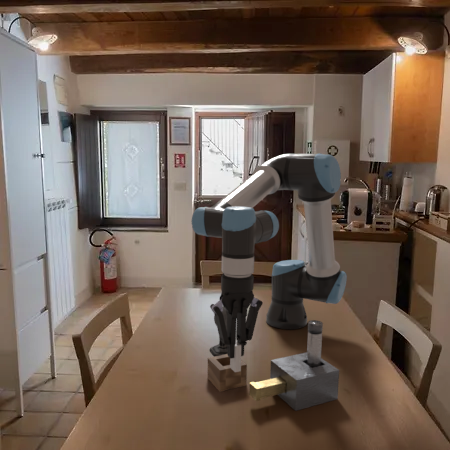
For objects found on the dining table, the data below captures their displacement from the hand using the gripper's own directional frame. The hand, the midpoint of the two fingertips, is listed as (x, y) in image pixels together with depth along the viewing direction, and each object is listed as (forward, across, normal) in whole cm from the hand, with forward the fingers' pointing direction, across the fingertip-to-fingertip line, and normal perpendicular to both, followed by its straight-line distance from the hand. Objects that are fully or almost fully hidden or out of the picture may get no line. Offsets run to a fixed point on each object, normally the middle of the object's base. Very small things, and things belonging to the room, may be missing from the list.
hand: (235, 369), depth 110 cm
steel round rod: (+10, -23, 0) cm, 25 cm away
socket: (+11, -20, 0) cm, 23 cm away
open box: (+11, -5, -14) cm, 19 cm away
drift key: (+9, -10, 0) cm, 13 cm away
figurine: (+11, -13, -32) cm, 36 cm away
